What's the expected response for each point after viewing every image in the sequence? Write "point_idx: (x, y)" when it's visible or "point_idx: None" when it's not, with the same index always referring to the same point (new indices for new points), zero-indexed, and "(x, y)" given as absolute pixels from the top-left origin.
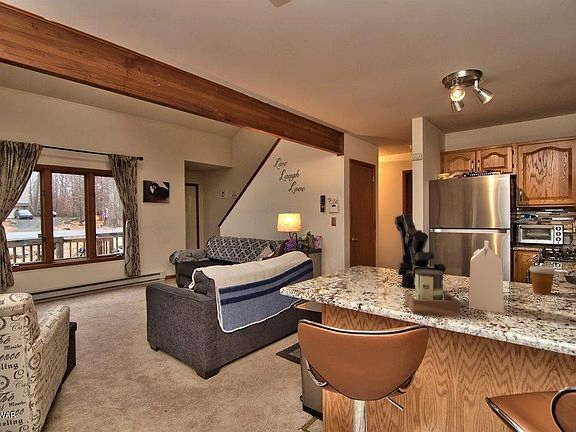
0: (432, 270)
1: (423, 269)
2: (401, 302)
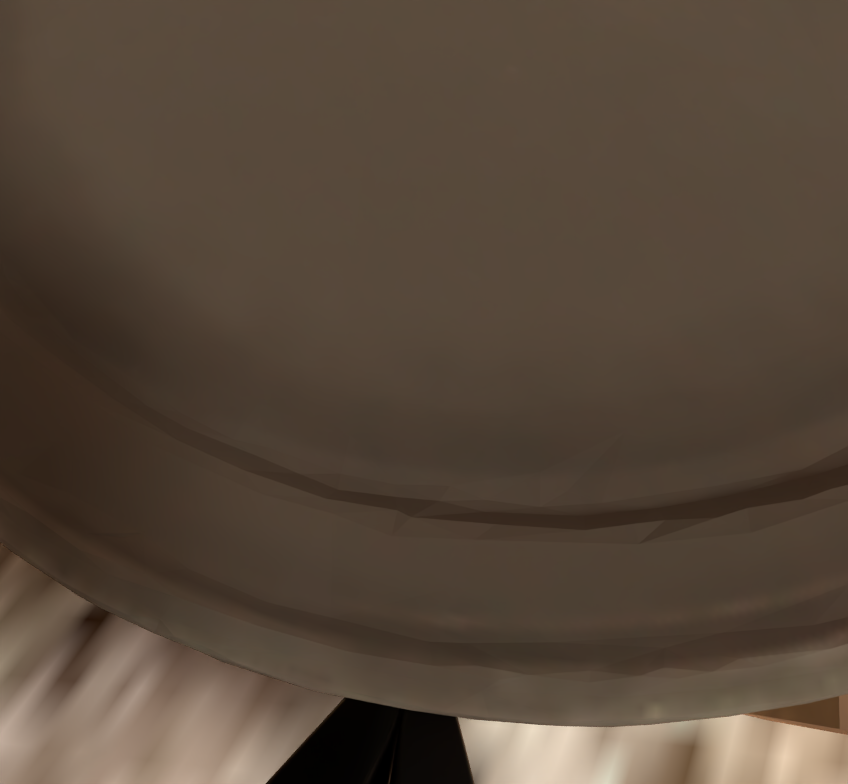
0: (46, 250)
1: (548, 588)
2: (820, 746)
